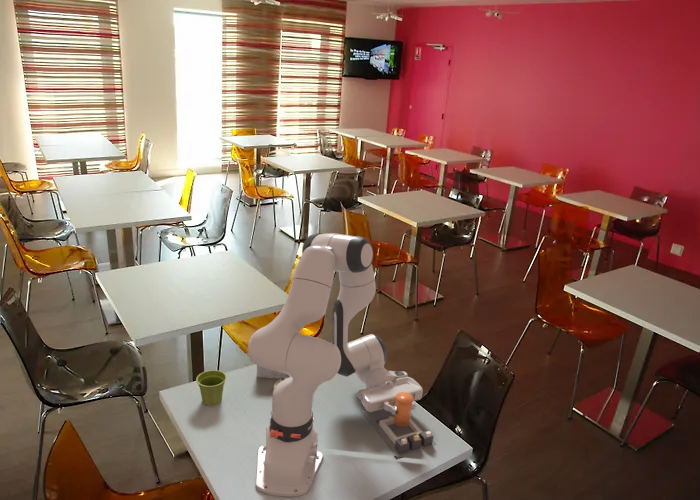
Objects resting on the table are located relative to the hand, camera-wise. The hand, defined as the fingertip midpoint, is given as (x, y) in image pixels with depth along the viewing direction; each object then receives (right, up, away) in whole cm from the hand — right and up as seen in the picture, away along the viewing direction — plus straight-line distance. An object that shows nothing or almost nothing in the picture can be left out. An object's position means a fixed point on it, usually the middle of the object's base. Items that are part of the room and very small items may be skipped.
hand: (404, 410), depth 162 cm
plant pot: (-62, -1, +13) cm, 63 cm away
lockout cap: (-1, -4, +3) cm, 5 cm away
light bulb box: (-44, +4, +30) cm, 54 cm away
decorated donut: (-37, 0, +20) cm, 42 cm away
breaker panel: (-2, -8, +5) cm, 9 cm away
